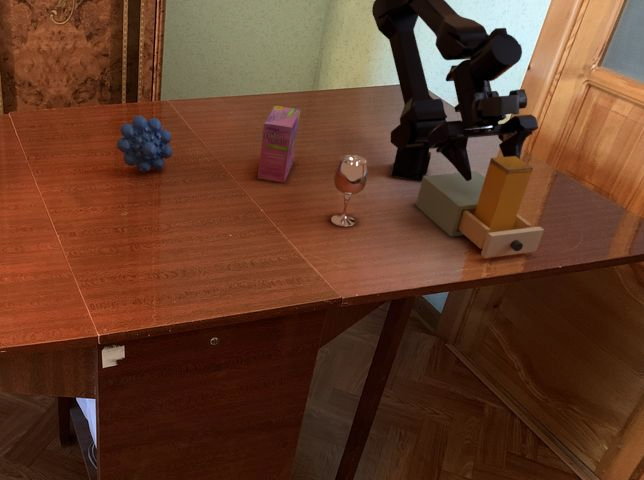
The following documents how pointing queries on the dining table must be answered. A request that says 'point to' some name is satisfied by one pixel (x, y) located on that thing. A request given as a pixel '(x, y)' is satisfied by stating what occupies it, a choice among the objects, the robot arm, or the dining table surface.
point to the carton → (502, 193)
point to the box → (278, 143)
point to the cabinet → (449, 198)
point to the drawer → (500, 236)
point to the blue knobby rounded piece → (144, 143)
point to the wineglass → (349, 183)
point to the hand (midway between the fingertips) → (492, 177)
